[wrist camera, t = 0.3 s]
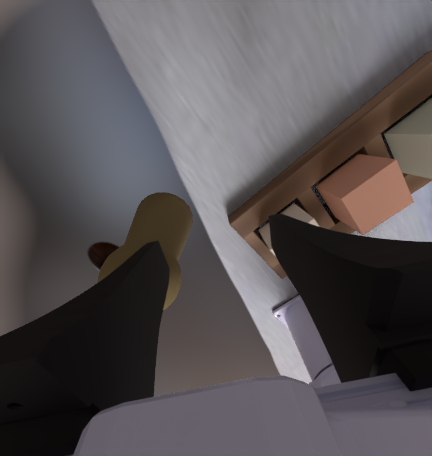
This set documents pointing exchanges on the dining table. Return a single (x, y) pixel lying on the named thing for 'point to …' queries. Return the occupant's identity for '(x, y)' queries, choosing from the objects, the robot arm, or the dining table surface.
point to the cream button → (292, 212)
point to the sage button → (413, 142)
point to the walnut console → (336, 159)
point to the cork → (156, 236)
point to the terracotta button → (366, 191)
